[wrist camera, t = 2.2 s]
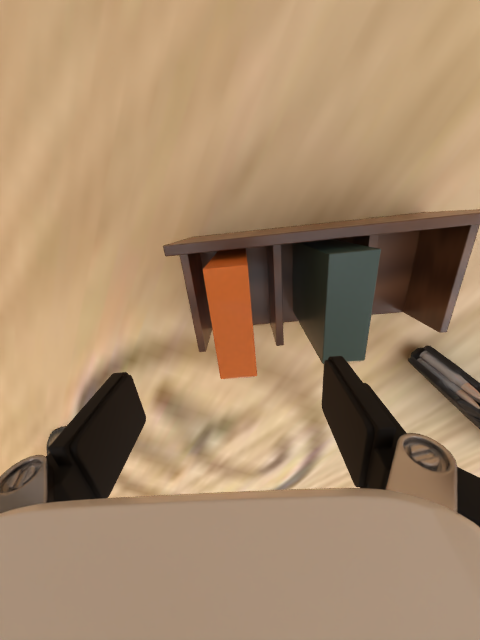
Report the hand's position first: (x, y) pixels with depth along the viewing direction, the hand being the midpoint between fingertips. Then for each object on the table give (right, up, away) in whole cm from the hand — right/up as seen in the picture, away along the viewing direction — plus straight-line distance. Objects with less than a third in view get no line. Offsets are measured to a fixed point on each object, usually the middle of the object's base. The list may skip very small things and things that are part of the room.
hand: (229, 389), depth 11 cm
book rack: (+9, +9, +18) cm, 22 cm away
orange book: (0, +8, +17) cm, 19 cm away
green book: (+9, +9, +17) cm, 21 cm away
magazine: (+36, -9, +26) cm, 45 cm away
